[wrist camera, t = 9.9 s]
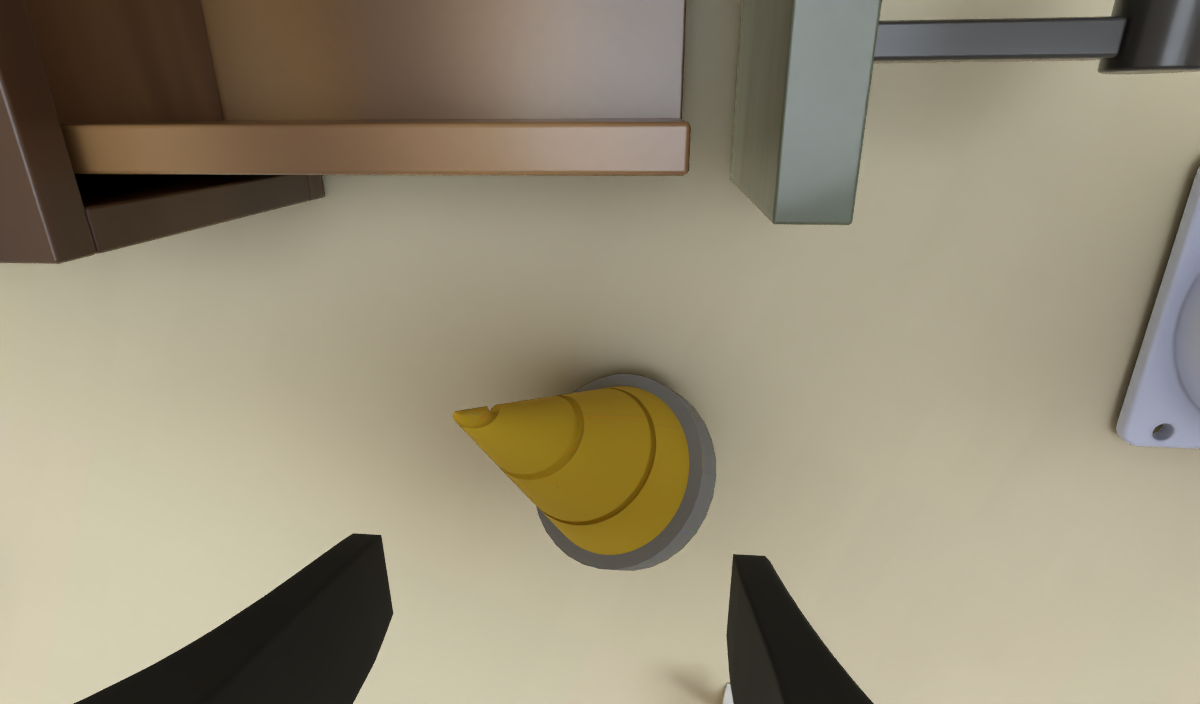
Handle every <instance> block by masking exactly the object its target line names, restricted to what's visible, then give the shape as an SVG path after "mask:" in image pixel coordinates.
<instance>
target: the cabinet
mask: <svg viewBox="0 0 1200 704" xmlns="http://www.w3.org/2000/svg"><path fill="white" fill-rule="evenodd" d="M322 197H324V190H323V183H322V177H321V175H210V174H74V171H73V167H72V164H71V160H70V157H69V154H68V150H67V147H66V143H65V140H64V136H63V133H62V129H61V126H60V123H59V119H58V116H57V112H56V109H55V105H54V102H53V98H52V95H51V92H50V88H49V85H48V81H47V78H46V74H45V71H44V67H43V64H42V61H41V57H40V54H39V50H38V47H37V43H36V40H35V36H34V33H33V30H32V26H31V23H30V19H29V16H28V12H27V9H26V5H25V2H24V0H0V263H47V264H59V263H63V262H67V261H71V260H75V259H79V258H83V257H87V256H91V255H94V254H95V253H104V252H107V251H111V250H115V249H119V248H123V247H127V246H131V245H135V244H139V243H143V242H147V241H151V240H155V239H159V238H163V237H167V236H171V235H175V234H179V233H183V232H187V231H191V230H195V229H199V228H203V227H207V226H211V225H215V224H219V223H223V222H227V221H231V220H235V219H238V218H242V217H246V216H250V215H254V214H258V213H262V212H266V211H270V210H274V209H278V208H282V207H286V206H290V205H294V204H298V203H302V202H306V201H310V200H314V199H318V198H322Z"/></svg>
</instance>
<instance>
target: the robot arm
mask: <svg viewBox="0 0 1200 704" xmlns="http://www.w3.org/2000/svg"><path fill="white" fill-rule="evenodd" d="M1160 424H1163V427H1162V428H1161V430H1159V431H1158V432H1156V433H1153V431H1154V429H1155V428H1156V427H1157V426H1159V425H1160ZM1116 432H1117V434H1118V436H1119V437H1120V438H1122V439H1123V440H1124V441H1126V442H1127V443H1129V444H1130V445H1134V446H1142V447H1168V448H1194V449H1200V166H1199V168H1198V170H1197V172H1196V175H1195V179H1194V182H1193V185H1192V188H1191V191H1190V194H1189V198H1188V201H1187V204H1186V207H1185V210H1184V213H1183V217H1182V220H1181V223H1180V226H1179V229H1178V232H1177V235H1176V239H1175V242H1174V245H1173V248H1172V251H1171V254H1170V258H1169V261H1168V264H1167V267H1166V270H1165V273H1164V276H1163V280H1162V283H1161V286H1160V289H1159V292H1158V295H1157V299H1156V302H1155V305H1154V308H1153V311H1152V314H1151V318H1150V321H1149V324H1148V327H1147V330H1146V333H1145V336H1144V340H1143V343H1142V346H1141V349H1140V352H1139V355H1138V359H1137V362H1136V365H1135V368H1134V371H1133V374H1132V377H1131V381H1130V384H1129V387H1128V390H1127V393H1126V396H1125V400H1124V403H1123V406H1122V409H1121V412H1120V415H1119V419H1118V422H1117V425H1116ZM392 615H393V609H392V602H391V596H390V589H389V583H388V576H387V570H386V563H385V557H384V550H383V544H382V537H381V535H370V534H352V535H350V536H349V537H347V538H345V539H344V540H342V541H341V542H340V543H338V544H337V545H335V546H334V547H332V548H331V549H330V550H328V551H327V552H325V553H324V554H323V555H321V556H320V557H319V558H317V559H316V560H314V561H313V562H312V563H310V564H309V565H308V566H306V567H305V568H303V569H302V570H301V571H299V572H298V573H296V574H295V575H294V576H292V577H291V578H289V579H288V580H287V581H285V582H284V583H282V584H281V585H280V586H278V587H277V588H275V589H274V590H272V591H271V592H270V593H268V594H267V595H265V596H264V597H262V598H261V599H259V600H258V601H256V602H255V603H253V604H252V605H250V606H249V607H247V608H246V609H244V610H243V611H241V612H240V613H238V614H237V615H235V616H234V617H232V618H231V619H229V620H228V621H226V622H225V623H223V624H221V625H220V626H218V627H217V628H215V629H214V630H212V631H211V632H209V633H207V634H206V635H204V636H202V637H201V638H199V639H197V640H196V641H194V642H192V643H191V644H189V645H187V646H185V647H184V648H182V649H180V650H178V651H177V652H175V653H173V654H171V655H169V656H168V657H166V658H164V659H162V660H161V661H159V662H157V663H155V664H153V665H151V666H150V667H148V668H146V669H144V670H142V671H140V672H138V673H136V674H134V675H132V676H130V677H128V678H126V679H124V680H122V681H120V682H118V683H116V684H114V685H112V686H110V687H108V688H105V689H103V690H101V691H99V692H97V693H95V694H93V695H91V696H89V697H87V698H85V699H83V700H81V701H79V702H76V703H74V704H353V702H354V700H355V698H356V697H357V695H358V693H359V691H360V689H361V687H362V685H363V683H364V681H365V679H366V678H367V676H368V674H369V672H370V670H371V668H372V666H373V664H374V662H375V660H376V657H377V655H378V652H379V650H380V647H381V645H382V642H383V640H384V637H385V634H386V632H387V629H388V626H389V623H390V621H391V618H392ZM727 648H728V661H729V674H730V686H731V692H732V698H733V703H734V704H874V703H873V702H872V701H871V700H870V699H869V698H868V697H867V696H866V694H865V693H864V692H863V691H862V690H861V689H860V688H859V686H858V685H857V684H856V683H855V682H854V681H853V679H852V678H851V677H850V676H849V674H848V673H847V672H846V671H845V670H844V668H843V667H842V666H841V665H840V663H839V662H838V661H837V660H836V658H835V657H834V656H833V655H832V653H831V652H830V651H829V649H828V648H827V647H826V645H825V644H824V643H823V641H822V640H821V639H820V637H819V636H818V635H817V633H816V632H815V630H814V629H813V628H812V626H811V625H810V623H809V622H808V621H807V619H806V618H805V616H804V615H803V614H802V612H801V611H800V609H799V608H798V606H797V605H796V603H795V602H794V600H793V599H792V597H791V595H790V594H789V592H788V591H787V589H786V588H785V586H784V584H783V583H782V581H781V580H780V578H779V576H778V575H777V573H776V571H775V569H774V568H773V566H772V564H771V562H770V561H769V560H768V559H767V558H766V557H765V556H755V555H737V554H733V565H732V577H731V589H730V601H729V612H728V624H727Z"/></svg>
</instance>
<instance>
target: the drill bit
mask: <svg viewBox="0 0 1200 704" xmlns="http://www.w3.org/2000/svg"><path fill="white" fill-rule="evenodd" d="M453 418H454V420H455V421H456V423H457V424H458V425H459V426H460V427H461V428H462V429H463V430H464V431H465V432H466V433H467V434H468V435H469V436H470V437H471V438H472V439H473V440H474V441H475V442H476V443H477V445H478V446H479V447H480V448H481V449H482V450H483V451H484V452H485V453H486V454H487V455H488V456H489V457H490V458H491V459H492V460H493V461H494V462H495V463H496V464H497V465H498V466H499V467H500V469H501V470H502V471H503V472H504V473H505V474H506V475H507V476H508V477H509V478H510V479H511V480H512V481H513V482H514V483H515V484H516V485H517V486H518V487H519V488H520V489H521V490H522V491H523V492H524V494H525V495H526V496H527V497H528V498H529V499H530V500H531V501H532V502H533V503H534V504H535V505H536V507H537V511H538V514H539V517H540V519H541V521H542V523H543V526H544V528H545V530H546V532H547V533H548V534H549V536H550V537H551V539H552V540H553V541H554V543H555V544H556V545H557V546H558V547H559V548H560V549H561V550H562V551H563V552H564V553H566V554H567V555H568V556H569V557H571V558H573V559H575V560H576V561H578V562H580V563H582V564H584V565H588V566H591V567H595V568H598V569H609V570H630V571H634V570H639V569H644V568H649V567H652V566H655V565H657V564H659V563H661V562H663V561H666V560H668V559H669V558H670V557H672V556H673V555H674V554H676V553H677V552H678V551H680V550H681V549H682V548H683V547H684V546H685V545H686V544H687V543H688V542H689V541H690V540H691V538H692V537H693V536H694V535H695V534H696V532H697V531H698V529H699V527H700V526H701V524H702V522H703V520H704V519H705V517H706V515H707V512H708V509H709V506H710V504H711V501H712V498H713V493H714V487H715V480H716V458H715V453H714V448H713V444H712V439H711V437H710V434H709V432H708V430H707V427H706V425H705V423H704V421H703V420H702V418H701V417H700V416H699V414H698V413H697V411H696V410H695V408H694V407H693V406H692V405H690V404H689V403H688V402H687V401H686V400H685V399H684V398H683V397H682V396H680V395H678V394H677V393H675V392H674V391H672V390H670V389H669V388H667V387H665V386H664V385H662V384H660V383H659V382H657V381H655V380H653V379H650V378H647V377H643V376H640V375H632V374H617V375H610V376H605V377H603V378H600V379H597V380H594V381H591V382H590V383H588V384H586V385H585V386H583V387H581V388H580V389H578V390H577V391H575V392H574V393H569V394H563V395H557V396H550V397H544V398H537V399H531V400H524V401H518V402H511V403H505V404H498V405H495V406H494V407H493V408H492V409H491V411H490V410H489V409H488V407H487V406H485V407H479V408H472V409H466V410H460V411H455V412H454V413H453Z"/></svg>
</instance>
